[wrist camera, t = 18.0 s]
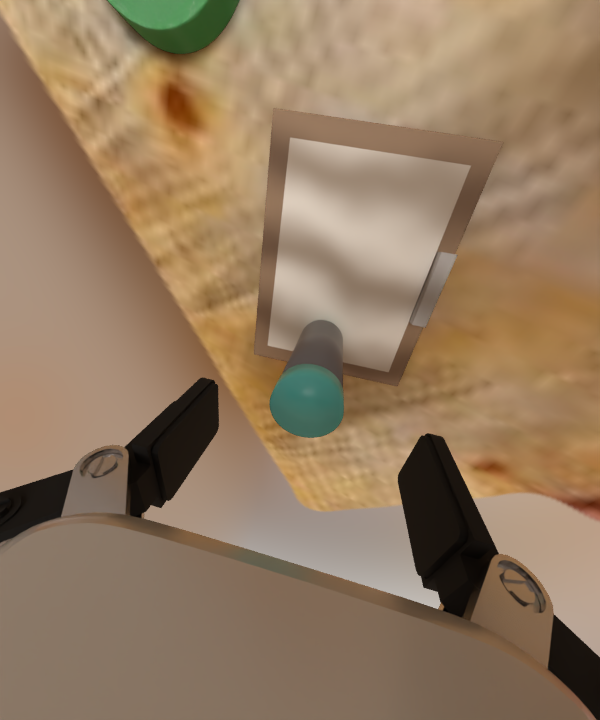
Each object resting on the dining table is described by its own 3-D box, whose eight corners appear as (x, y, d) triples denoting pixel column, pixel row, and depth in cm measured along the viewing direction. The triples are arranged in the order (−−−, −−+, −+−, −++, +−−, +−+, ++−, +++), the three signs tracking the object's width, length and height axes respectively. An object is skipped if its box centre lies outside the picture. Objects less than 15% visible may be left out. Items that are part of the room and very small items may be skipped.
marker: (306, 311, 23) (273, 369, 12) (347, 319, 22) (352, 387, 12) (299, 348, 24) (266, 427, 14) (337, 357, 24) (333, 444, 14)
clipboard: (276, 115, 18) (269, 100, 16) (494, 147, 16) (513, 135, 15) (256, 350, 27) (250, 357, 25) (395, 381, 26) (399, 391, 24)
